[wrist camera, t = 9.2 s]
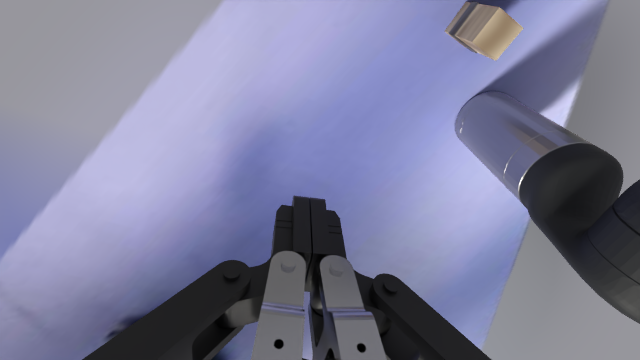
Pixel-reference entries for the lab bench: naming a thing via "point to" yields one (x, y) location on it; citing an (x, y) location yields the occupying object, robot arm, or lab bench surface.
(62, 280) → the lab bench surface
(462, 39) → the banded post
